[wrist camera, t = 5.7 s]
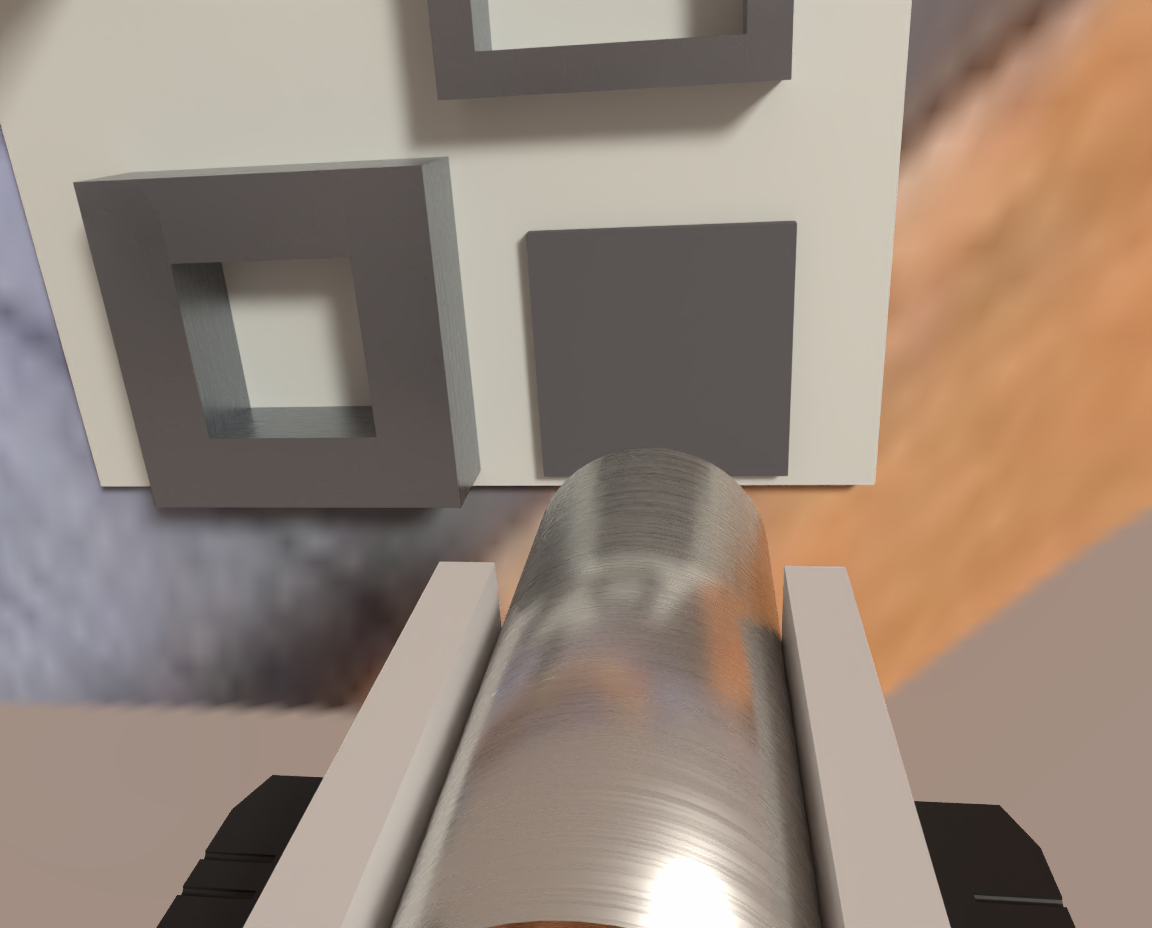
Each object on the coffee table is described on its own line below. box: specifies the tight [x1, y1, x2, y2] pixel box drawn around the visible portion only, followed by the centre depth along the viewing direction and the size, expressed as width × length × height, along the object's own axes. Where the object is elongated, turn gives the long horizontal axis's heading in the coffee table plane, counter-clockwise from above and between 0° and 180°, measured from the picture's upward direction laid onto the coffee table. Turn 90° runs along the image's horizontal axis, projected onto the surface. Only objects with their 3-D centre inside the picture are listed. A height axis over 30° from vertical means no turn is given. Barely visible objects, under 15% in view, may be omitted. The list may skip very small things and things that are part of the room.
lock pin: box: [391, 447, 822, 928], centre depth 10 cm, size 4×4×11 cm
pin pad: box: [526, 221, 797, 477], centre depth 25 cm, size 7×7×1 cm
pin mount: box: [73, 156, 481, 508], centre depth 25 cm, size 9×9×3 cm
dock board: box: [0, 0, 912, 486], centre depth 24 cm, size 24×22×1 cm
